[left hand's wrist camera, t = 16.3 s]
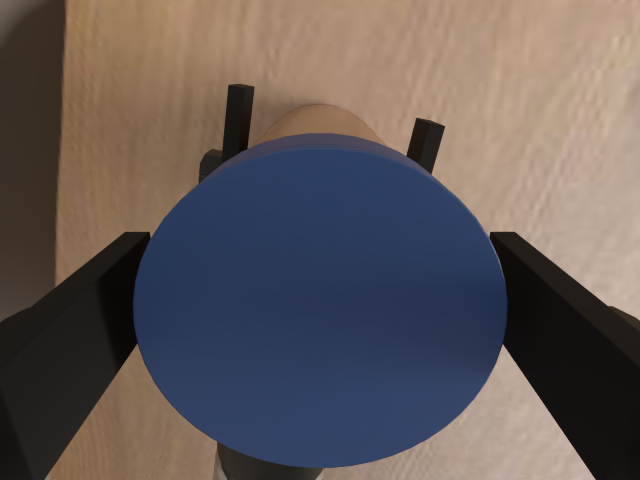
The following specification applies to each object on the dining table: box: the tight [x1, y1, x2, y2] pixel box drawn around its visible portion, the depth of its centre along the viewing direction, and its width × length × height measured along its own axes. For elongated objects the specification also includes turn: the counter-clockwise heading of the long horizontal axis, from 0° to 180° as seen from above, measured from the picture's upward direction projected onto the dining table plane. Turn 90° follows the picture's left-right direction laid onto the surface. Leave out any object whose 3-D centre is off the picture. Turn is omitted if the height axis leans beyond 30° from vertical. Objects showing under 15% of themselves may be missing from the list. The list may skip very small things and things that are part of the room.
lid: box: [133, 133, 508, 468], centre depth 11 cm, size 9×9×2 cm
